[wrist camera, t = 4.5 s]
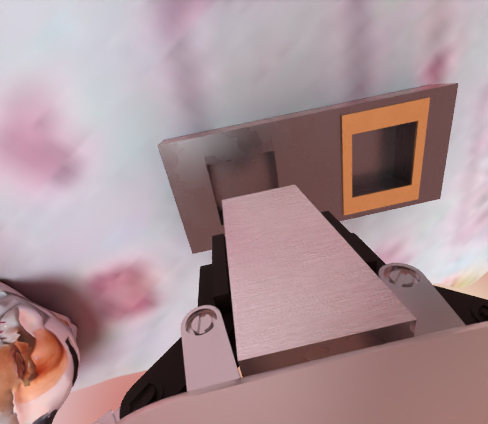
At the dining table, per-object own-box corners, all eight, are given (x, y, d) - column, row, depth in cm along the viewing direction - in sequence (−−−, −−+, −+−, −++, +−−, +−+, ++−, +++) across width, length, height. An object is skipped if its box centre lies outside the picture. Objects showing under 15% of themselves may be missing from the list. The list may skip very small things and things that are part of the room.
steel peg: (221, 200, 14) (237, 360, 5) (294, 184, 14) (416, 319, 6) (236, 260, 15) (264, 448, 7) (300, 245, 15) (399, 415, 7)
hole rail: (164, 139, 22) (157, 146, 19) (428, 84, 23) (460, 83, 20) (194, 237, 26) (192, 254, 23) (416, 188, 27) (441, 199, 24)
